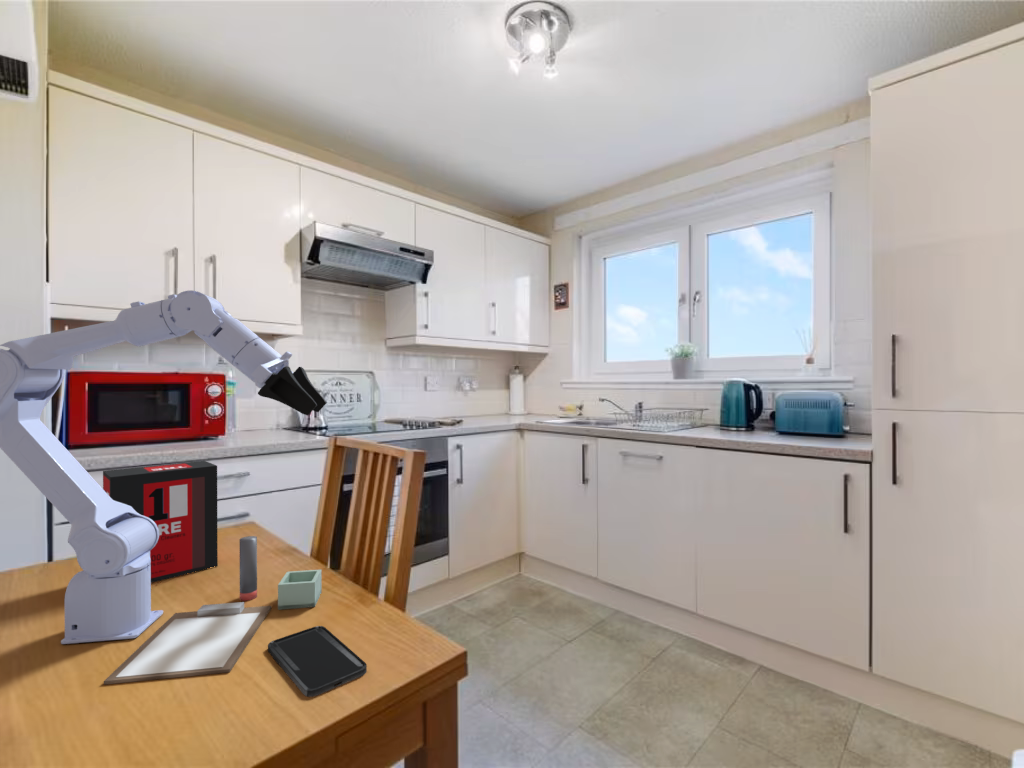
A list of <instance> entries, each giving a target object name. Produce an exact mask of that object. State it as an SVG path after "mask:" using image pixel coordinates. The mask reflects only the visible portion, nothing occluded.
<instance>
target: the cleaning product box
mask: <svg viewBox="0 0 1024 768" xmlns="http://www.w3.org/2000/svg"><path fill="white" fill-rule="evenodd" d="M102 489H103V490H104V491H105V492H106V493H107V494H108V495H109V496H110V497H111V499H112V500H114V501H117V502H120V503H123V504H126V505H129V506H131V507H132V508H133V509H134V510H135V511H136V512H137V513H139V514H141V515H143V516H146V517H148V518H150V519H152V520H153V521H154V522H155V523H156V525H157V527H158V529H159V539H158V542H157V544H156V545H155V547H154V548H153V549H152V550H150V558H151V584H152V583H155V582H159V581H164V580H167V579H168V580H169V579H172V578H176V577H180V575H181V576H184V574H185V575H188V574H187V573H190V574H193V573H192V572H194V573H196V572H195V571H198V572H200V571H199V570H202V571H204V570H203V569H206V570H208V569H207V568H210V567H214V566H218V562H219V561H218V465H216V464H215V463H211V462H209V461H206V460H198V461H188V462H186V461H185V462H177V463H169V464H159V465H158V464H157V465H147V466H137V467H127V468H117V469H109V470H108V469H107V470H102Z"/></svg>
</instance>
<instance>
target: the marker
mask: <svg viewBox="0 0 1024 768" xmlns="http://www.w3.org/2000/svg"><path fill="white" fill-rule="evenodd" d="M257 538H258V537H257V536H256V535H249V536H244V537H241V538H240V539H239V600H240V601H242V602H245V601H252V600H254V599H256V598H257V597H258V539H257Z"/></svg>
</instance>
